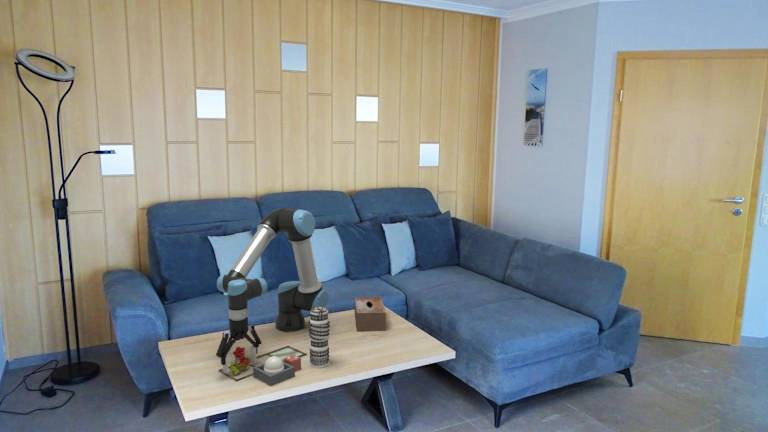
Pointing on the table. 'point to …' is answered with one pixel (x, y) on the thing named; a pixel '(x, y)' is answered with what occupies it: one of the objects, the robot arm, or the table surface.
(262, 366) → the dome housing
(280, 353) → the frame
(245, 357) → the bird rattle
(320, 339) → the decorative candle
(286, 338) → the table surface
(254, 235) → the robot arm
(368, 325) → the tissue box cover
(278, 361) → the dome
